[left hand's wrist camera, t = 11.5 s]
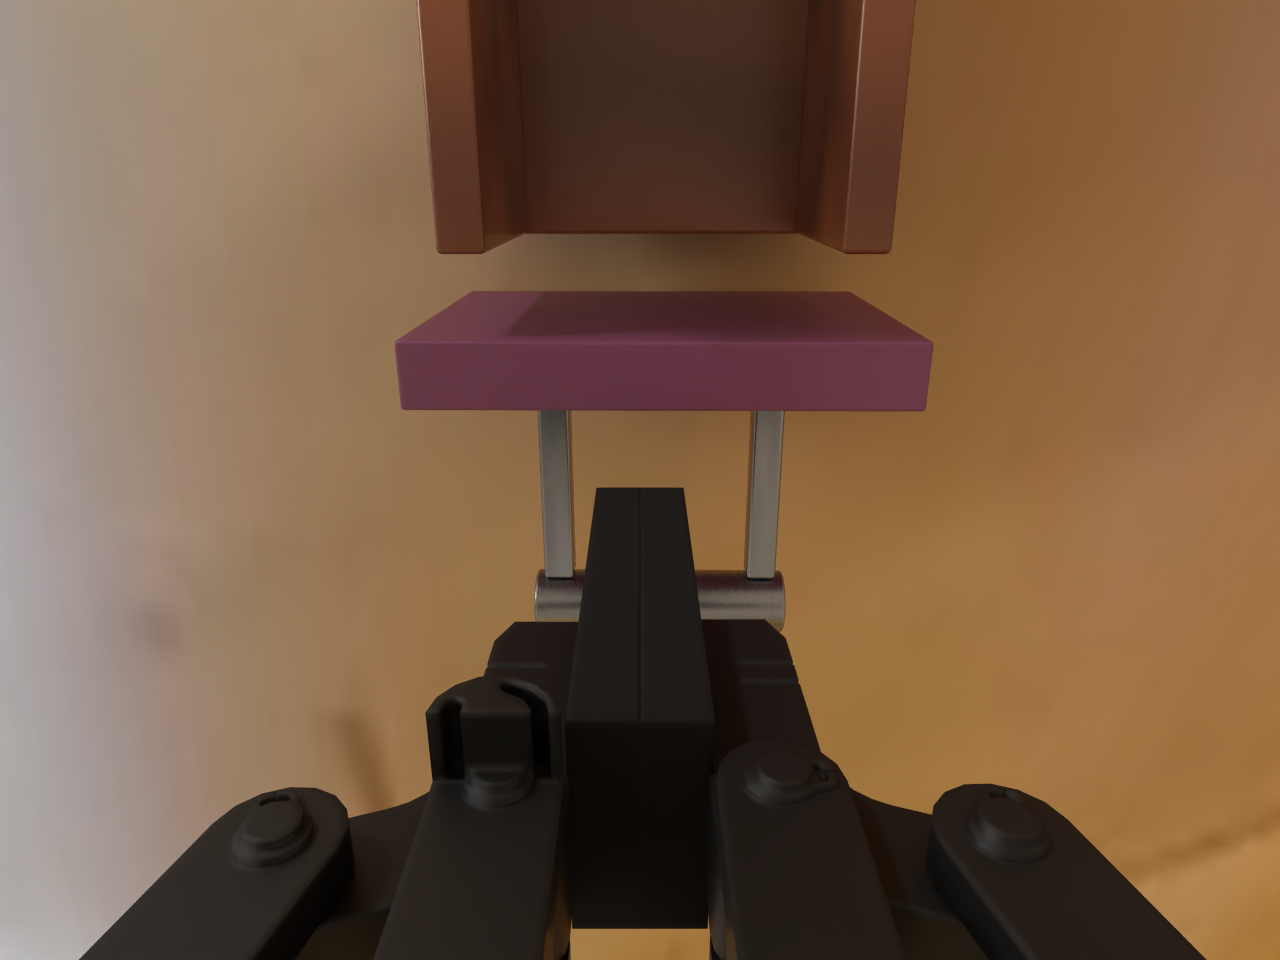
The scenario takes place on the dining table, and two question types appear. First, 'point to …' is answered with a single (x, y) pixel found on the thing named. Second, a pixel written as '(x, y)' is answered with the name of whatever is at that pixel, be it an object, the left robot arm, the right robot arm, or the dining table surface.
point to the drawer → (664, 228)
